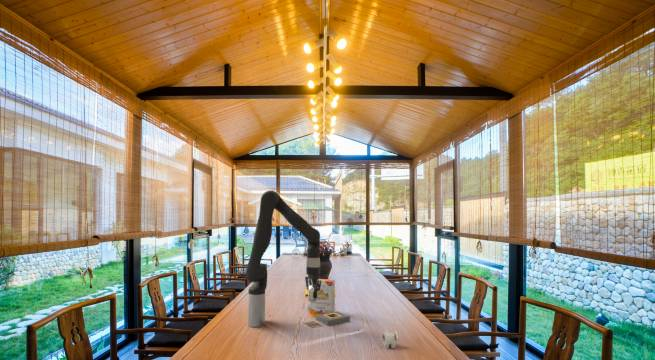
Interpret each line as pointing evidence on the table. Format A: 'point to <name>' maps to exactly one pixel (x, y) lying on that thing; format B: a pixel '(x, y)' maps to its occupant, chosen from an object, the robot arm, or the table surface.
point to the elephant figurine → (389, 339)
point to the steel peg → (311, 294)
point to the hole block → (332, 318)
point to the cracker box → (324, 298)
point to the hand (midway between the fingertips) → (312, 297)
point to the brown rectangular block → (313, 324)
